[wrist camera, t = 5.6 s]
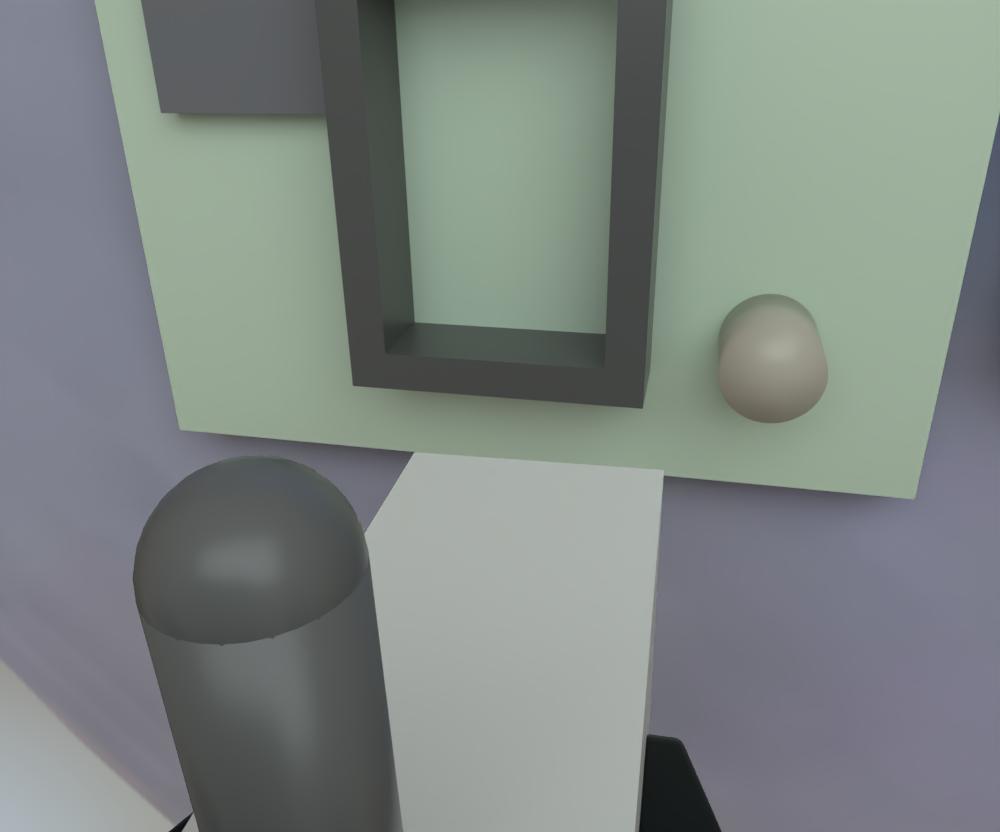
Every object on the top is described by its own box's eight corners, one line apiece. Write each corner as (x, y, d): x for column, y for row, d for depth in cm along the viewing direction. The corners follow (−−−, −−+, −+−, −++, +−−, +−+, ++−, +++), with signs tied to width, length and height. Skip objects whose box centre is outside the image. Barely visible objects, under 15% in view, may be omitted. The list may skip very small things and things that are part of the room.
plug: (388, 162, 9) (-267, 539, 3) (680, 163, 8) (621, 637, 2) (443, 778, 13) (214, 1483, 7) (644, 808, 12) (589, 1608, 6)
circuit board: (1057, -277, 14) (1149, -352, 11) (901, 466, 20) (934, 550, 17) (100, -203, 18) (-27, -243, 15) (209, 405, 24) (134, 466, 21)
